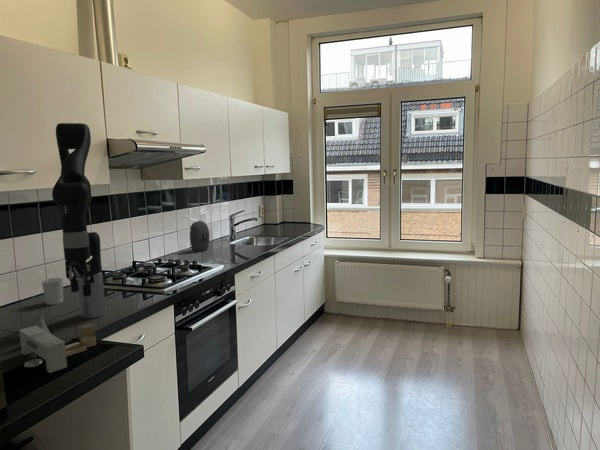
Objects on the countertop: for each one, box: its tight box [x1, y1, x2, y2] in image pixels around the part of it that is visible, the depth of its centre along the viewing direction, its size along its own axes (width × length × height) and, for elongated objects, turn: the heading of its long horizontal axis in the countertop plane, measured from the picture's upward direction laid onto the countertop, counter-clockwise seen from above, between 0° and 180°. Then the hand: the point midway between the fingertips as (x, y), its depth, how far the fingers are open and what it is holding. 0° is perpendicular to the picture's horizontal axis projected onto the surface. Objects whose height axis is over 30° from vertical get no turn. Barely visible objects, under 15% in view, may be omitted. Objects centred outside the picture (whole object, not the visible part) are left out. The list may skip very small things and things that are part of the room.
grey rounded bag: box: [189, 220, 210, 252], centre depth 304 cm, size 15×8×20 cm, turn 150°
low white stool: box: [18, 325, 68, 374], centre depth 144 cm, size 22×6×8 cm, turn 49°
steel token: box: [23, 358, 44, 368], centre depth 142 cm, size 5×5×1 cm
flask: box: [32, 311, 52, 334], centre depth 159 cm, size 7×7×10 cm
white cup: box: [41, 277, 64, 306], centre depth 202 cm, size 8×8×10 cm
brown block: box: [65, 322, 97, 358], centre depth 151 cm, size 6×12×7 cm, turn 139°
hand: (81, 293), depth 151 cm, fingers open, 8 cm apart
